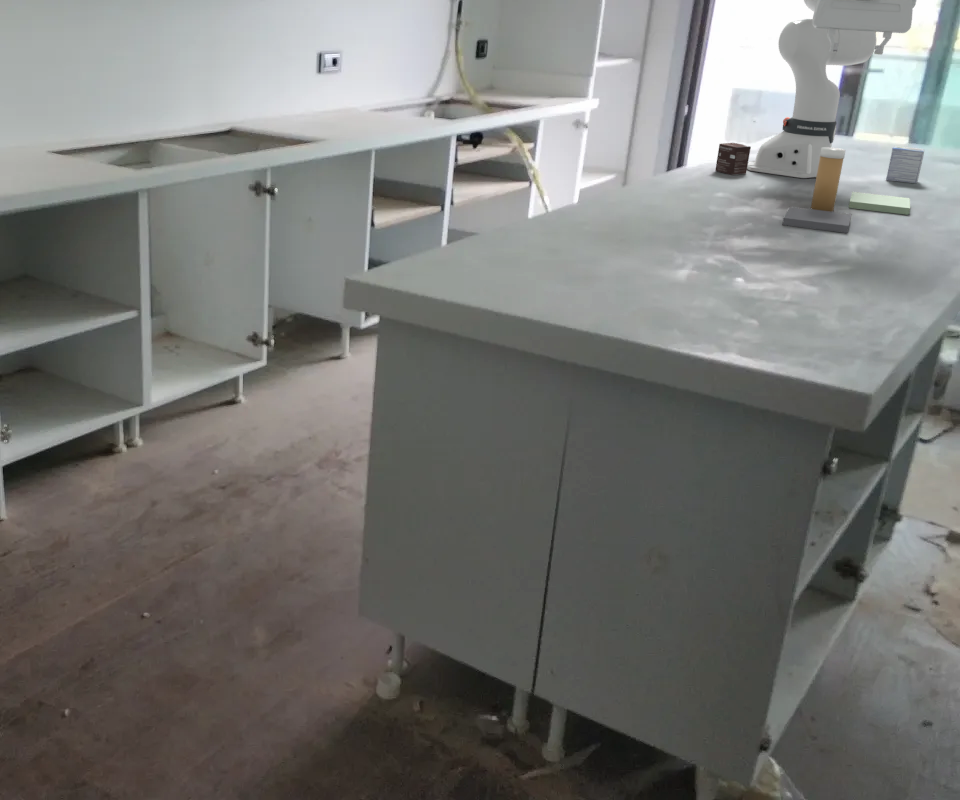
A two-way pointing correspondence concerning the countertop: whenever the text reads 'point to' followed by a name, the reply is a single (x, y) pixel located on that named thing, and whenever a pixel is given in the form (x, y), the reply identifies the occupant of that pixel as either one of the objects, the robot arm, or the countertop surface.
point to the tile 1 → (817, 219)
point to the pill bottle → (827, 178)
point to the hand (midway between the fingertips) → (855, 53)
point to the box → (732, 158)
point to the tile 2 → (880, 203)
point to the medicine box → (905, 164)
